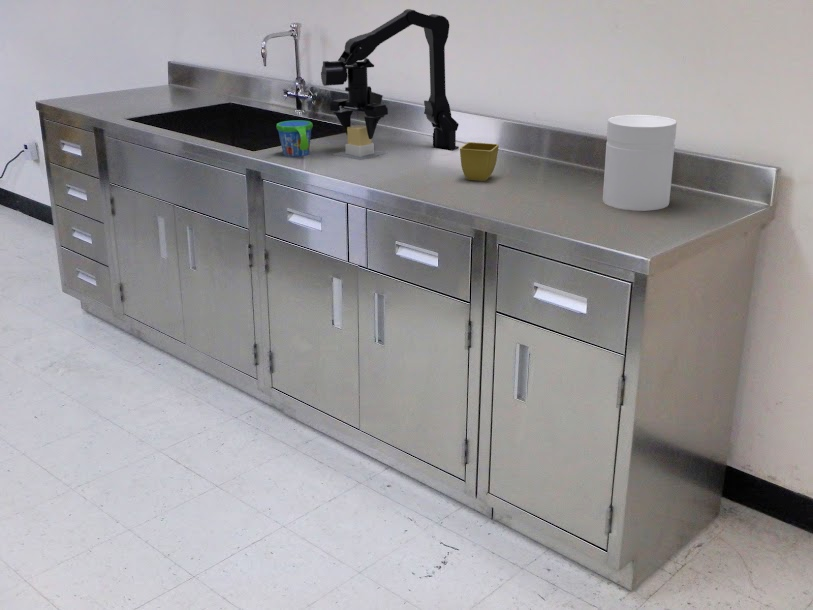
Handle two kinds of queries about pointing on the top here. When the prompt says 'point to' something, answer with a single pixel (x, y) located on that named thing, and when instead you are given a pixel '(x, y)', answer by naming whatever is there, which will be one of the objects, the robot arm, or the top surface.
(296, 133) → the snack cup
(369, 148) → the white brick
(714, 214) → the top surface
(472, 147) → the flower pot
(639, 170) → the canister
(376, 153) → the baseplate
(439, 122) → the robot arm
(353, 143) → the ochre brick
